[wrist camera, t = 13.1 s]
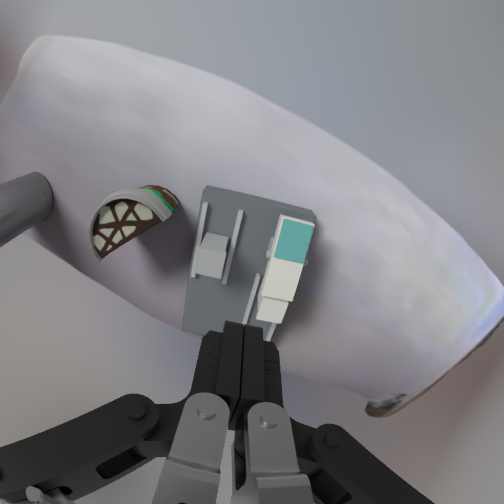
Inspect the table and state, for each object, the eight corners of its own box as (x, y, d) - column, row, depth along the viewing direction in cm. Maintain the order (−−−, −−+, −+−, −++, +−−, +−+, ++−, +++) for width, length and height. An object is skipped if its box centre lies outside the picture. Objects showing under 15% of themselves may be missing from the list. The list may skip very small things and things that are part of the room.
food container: (167, 160, 35) (138, 171, 26) (188, 197, 38) (167, 219, 29) (106, 203, 38) (70, 225, 29) (126, 235, 40) (95, 264, 31)
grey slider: (201, 252, 38) (193, 272, 33) (205, 230, 36) (197, 247, 31) (225, 258, 38) (220, 278, 33) (230, 236, 37) (226, 254, 32)
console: (185, 319, 47) (178, 340, 42) (207, 185, 37) (199, 194, 32) (267, 336, 48) (268, 358, 43) (311, 210, 38) (319, 222, 33)
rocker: (256, 288, 36) (256, 295, 33) (275, 212, 33) (277, 215, 31) (294, 296, 36) (297, 303, 34) (315, 223, 34) (320, 226, 31)
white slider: (256, 295, 41) (256, 319, 36) (261, 276, 39) (262, 298, 34) (278, 300, 41) (280, 323, 36) (284, 281, 39) (288, 303, 34)
